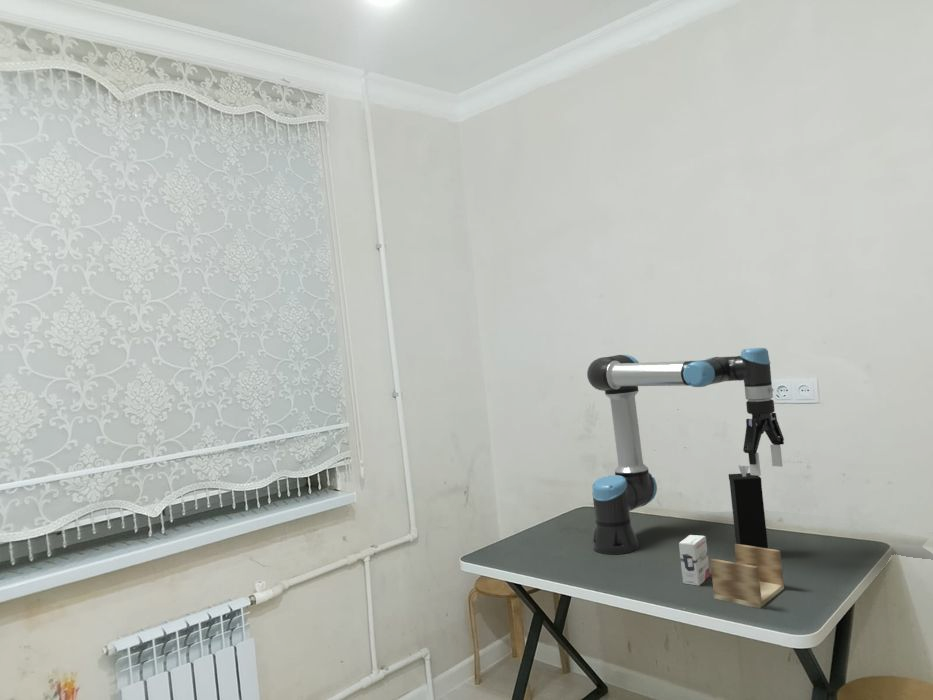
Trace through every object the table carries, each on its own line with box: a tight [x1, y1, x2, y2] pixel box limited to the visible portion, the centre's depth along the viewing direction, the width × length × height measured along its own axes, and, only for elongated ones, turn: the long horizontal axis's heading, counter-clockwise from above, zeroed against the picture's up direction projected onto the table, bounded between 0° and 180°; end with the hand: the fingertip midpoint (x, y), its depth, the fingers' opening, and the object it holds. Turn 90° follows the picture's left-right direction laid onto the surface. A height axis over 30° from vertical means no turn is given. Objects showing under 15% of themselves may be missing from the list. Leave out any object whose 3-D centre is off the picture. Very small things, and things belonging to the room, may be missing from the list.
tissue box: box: [728, 465, 769, 549], centre depth 198 cm, size 8×8×28 cm
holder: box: [709, 543, 785, 609], centre depth 171 cm, size 12×15×10 cm
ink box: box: [678, 534, 711, 586], centre depth 184 cm, size 8×5×12 cm, turn 140°
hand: (766, 470), depth 192 cm, fingers open, 13 cm apart
